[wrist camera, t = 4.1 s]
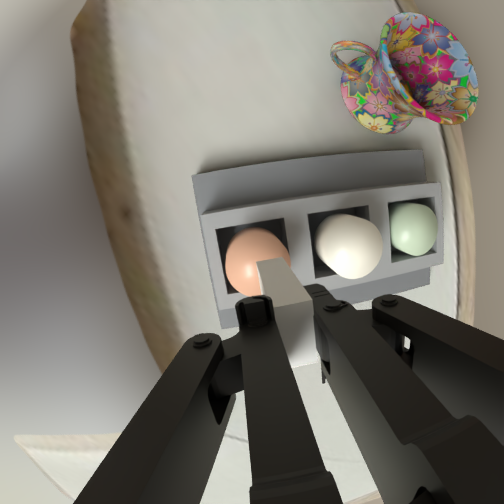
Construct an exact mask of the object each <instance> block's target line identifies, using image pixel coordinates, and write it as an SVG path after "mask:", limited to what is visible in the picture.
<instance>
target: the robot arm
mask: <svg viewBox="0 0 504 504" xmlns="http://www.w3.org/2000/svg"><path fill="white" fill-rule="evenodd" d="M256 265H257V271H258V277H259V283H260V289H261V294H262V295H256V296H250V297H246V298H243V299H241V300H239V301H238V302H237V303H236V304H235V309H236V314H237V319H238V323H239V332H238V333H237V334H236V335H235V336H233V337H231V338H229V339H226V340H223V341H222V340H221V338H220V336H219V335H217V334H214V333H205V334H204V333H201V334H199V335H195V336H194V337H192V338H190V339H188V340H187V341H186V342H185V343H184V345H183V346H182V348H181V349H180V350H179V352H178V353H177V355H176V356H175V358H174V359H173V360H172V362H171V363H170V365H169V366H168V368H167V369H166V370H165V372H164V373H163V375H162V376H161V378H160V379H159V380H158V382H157V384H156V385H155V386H154V388H153V389H152V390H151V392H150V393H149V395H148V397H147V398H146V399H145V401H144V402H143V403H142V405H141V406H140V408H139V409H138V411H137V412H136V413H135V415H134V416H133V418H132V419H131V421H130V422H129V424H128V425H127V426H126V428H125V429H124V431H123V432H122V434H121V435H120V436H119V438H118V439H117V441H116V442H115V444H114V445H113V447H112V448H111V449H110V451H109V452H108V454H107V455H106V457H105V458H104V460H103V461H102V462H101V464H100V465H99V467H98V468H97V470H96V471H95V473H94V474H93V475H92V477H91V478H90V480H89V481H88V483H87V484H86V486H85V487H84V488H83V490H82V491H81V493H80V494H79V496H78V497H77V499H76V500H75V501H74V503H73V504H200V501H201V498H202V496H203V493H204V490H205V487H206V484H207V482H208V479H209V476H210V473H211V470H212V468H213V465H214V462H215V459H216V456H217V453H218V451H219V448H220V445H221V442H222V439H223V436H224V433H225V430H226V427H227V424H228V421H229V418H230V415H231V412H232V409H233V406H234V403H235V400H236V394H235V393H237V392H240V391H242V390H244V395H245V407H246V418H247V429H248V440H249V451H250V462H251V472H252V486H251V487H250V491H249V493H250V504H343V502H342V499H341V496H340V494H339V491H338V488H337V485H336V482H335V480H334V478H333V475H332V474H331V472H330V471H328V472H327V470H326V469H325V466H324V463H323V460H322V457H321V454H320V451H319V448H318V445H317V442H316V439H315V436H314V433H313V430H312V427H311V424H310V421H309V418H308V415H307V412H306V410H305V407H304V404H303V401H302V398H301V395H300V392H299V389H298V386H297V383H296V380H295V377H294V374H293V371H292V368H294V367H299V366H304V365H308V364H312V363H317V362H318V353H319V355H320V357H321V370H322V383H325V379H327V381H328V383H329V385H330V387H331V390H332V392H333V394H334V396H335V398H336V400H337V402H338V404H339V406H340V409H341V411H342V413H343V415H344V417H345V419H346V421H347V423H348V426H349V428H350V430H351V432H352V434H353V436H354V438H355V441H356V443H357V445H358V447H359V449H360V451H361V454H362V456H363V458H364V460H365V462H366V464H367V467H368V469H369V471H370V473H371V475H372V477H373V480H374V482H375V484H376V486H377V488H378V490H379V493H380V495H381V497H382V499H383V502H384V504H504V340H502V339H500V338H498V337H495V336H493V335H491V334H488V333H486V332H484V331H482V330H479V329H477V328H474V327H472V326H470V325H468V324H465V323H463V322H461V321H458V320H456V319H454V318H451V317H449V316H447V315H444V314H442V313H440V312H437V311H435V310H433V309H430V308H428V307H425V306H423V305H421V304H418V303H416V302H414V301H411V300H409V299H406V298H404V297H402V296H398V295H392V294H387V295H386V294H385V295H382V296H379V297H377V298H375V299H374V300H373V301H372V309H368V310H356V309H355V308H354V307H353V306H352V305H351V304H350V303H349V302H347V301H344V300H336V299H335V298H334V297H333V295H332V294H330V292H329V291H328V290H327V289H326V288H325V286H323V285H320V284H317V283H316V284H311V285H306V286H303V285H302V284H301V283H300V281H299V280H298V278H297V277H296V275H295V274H294V273H293V271H292V270H291V268H290V267H289V266H288V264H287V263H286V261H285V260H284V258H283V257H279V258H273V259H268V260H263V261H257V262H256ZM405 336H406V337H407V338H409V339H410V348H409V349H407V348H405V347H404V340H405ZM317 351H318V352H317Z"/></svg>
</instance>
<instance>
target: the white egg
mask: <svg viewBox="0 0 504 504" xmlns="http://www.w3.org/2000/svg"><path fill="white" fill-rule="evenodd" d="M314 247H315V251H316V253H317V255H318V256H319V258H320V259H321V260H322V261H323V262H324V263H326V264H327V265H328V266H329V267H330V268H331V269H332V270H334V271H335V272H336V273H337V274H338V275H340V276H342V277H344V278H347V279H358V278H361V277H364V276H366V275H367V274H369V273H370V272H371V271H372V270H374V268H375V267H376V266H377V264H378V263H379V261H380V258H381V256H382V251H383V241H382V237H381V234H380V232H379V230H378V229H377V227H376V226H375V225H374V224H373V223H371V222H370V221H368V220H366V219H362V218H359V217H355V216H352V215H348V214H344V213H336V214H332V215H330V216H328V217H326V218H325V219H324V220H323V221H322V222H321V223H320V224H319V226H318V227H317V229H316V232H315V236H314Z"/></svg>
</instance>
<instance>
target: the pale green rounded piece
mask: <svg viewBox="0 0 504 504" xmlns="http://www.w3.org/2000/svg"><path fill="white" fill-rule="evenodd" d="M388 213H389V226H390V243H391V246H392V247H394V248H396V249H399V250H401V251H403V252H406V253H408V254H410V255H413V256H419V255H423V254H425V253H426V252H428V251H429V250H430V249H431V247H432V246H433V245H434V243H435V240H436V238H437V233H438V223H437V219H436V216H435V214H434V212H433V211H432V210H431V209H430V208H429V207H427V206H425V205H421V204H414V203H408V202H400V201H398V202H394V203H392V204H390V205H389V206H388Z"/></svg>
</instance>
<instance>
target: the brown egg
mask: <svg viewBox="0 0 504 504" xmlns="http://www.w3.org/2000/svg"><path fill="white" fill-rule="evenodd" d="M279 257H283V258H284V260H285V261H286V263H287V264H288V266H289V267H290V268H291V260H290V256H289V253H288V251H287V249H286V248H285V246H284V245H283V244H282V243H281V242H280V240H279V239H278V238H277V237H276V236H275V235H274V234H273V233H272V232H270V231H269V230H267V229H265V228H261V227H249V228H245V229H243V230H241V231H239V232H238V233H236V234H235V235H234V236H233V237H232V239H231V240H230V242H229V244H228V247H227V251H226V274H227V277H228V280H229V282H230V283H231V285H232V286H233V287H234V288H235V289H236V290H237V291H239V292H240V293H242V294H244V295H246V296H256V295H262V294H261V289H260V283H259V277H258V271H257V265H256V262H257V261H263V260H268V259H273V258H279Z"/></svg>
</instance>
